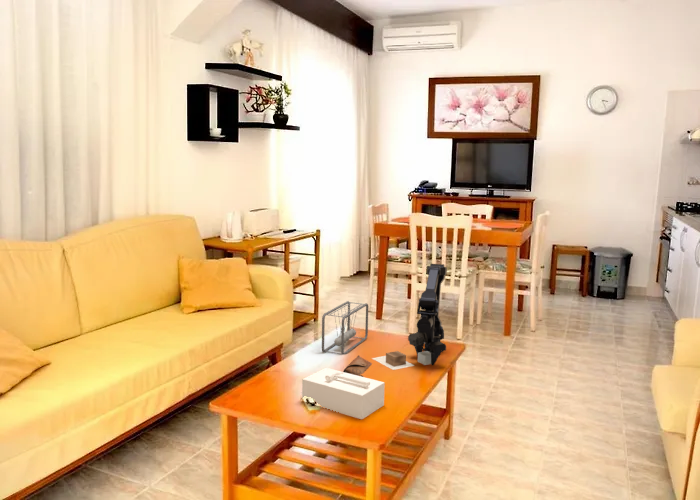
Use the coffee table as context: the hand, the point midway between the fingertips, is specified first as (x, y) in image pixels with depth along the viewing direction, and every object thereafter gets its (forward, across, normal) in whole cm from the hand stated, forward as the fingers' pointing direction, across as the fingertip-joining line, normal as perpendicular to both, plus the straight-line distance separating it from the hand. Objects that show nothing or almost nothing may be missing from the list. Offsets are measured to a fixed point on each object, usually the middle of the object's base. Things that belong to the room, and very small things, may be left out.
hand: (425, 361), depth 255 cm
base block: (0, -5, -12) cm, 13 cm away
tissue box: (+2, +18, -51) cm, 54 cm away
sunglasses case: (+2, -8, -28) cm, 29 cm away
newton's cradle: (+2, -38, -17) cm, 41 cm away
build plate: (+1, -7, -12) cm, 14 cm away
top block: (+1, 0, 0) cm, 1 cm away
